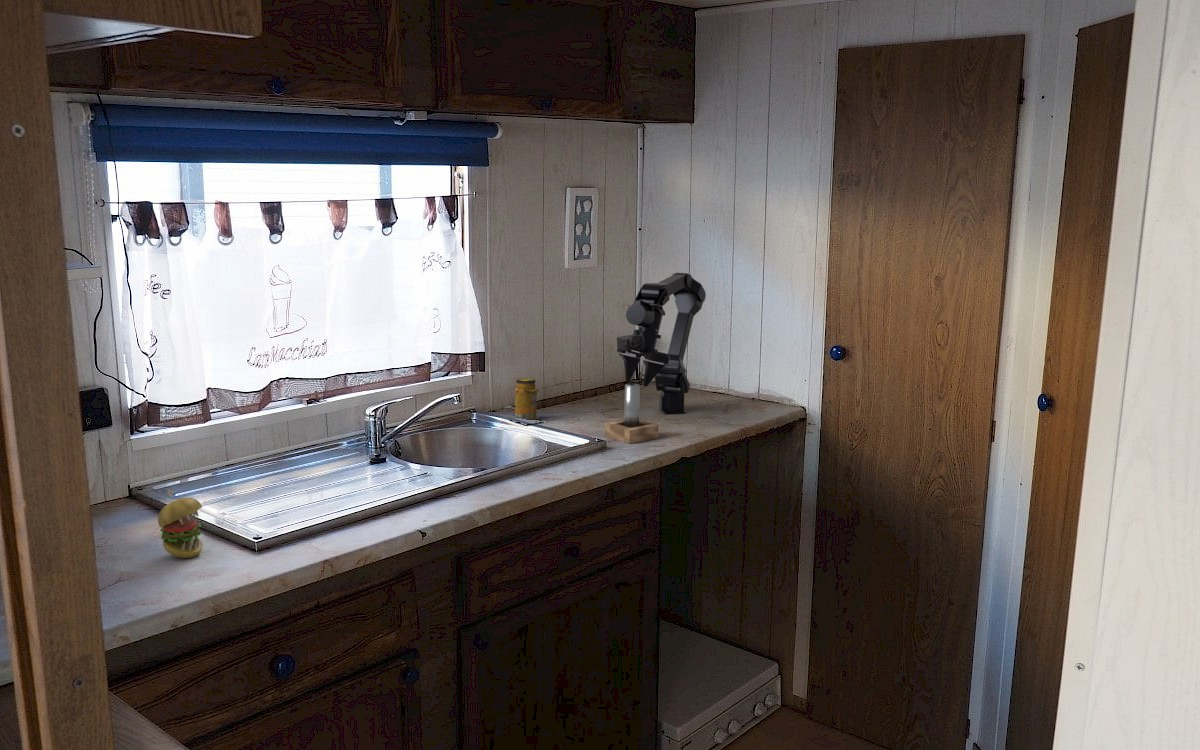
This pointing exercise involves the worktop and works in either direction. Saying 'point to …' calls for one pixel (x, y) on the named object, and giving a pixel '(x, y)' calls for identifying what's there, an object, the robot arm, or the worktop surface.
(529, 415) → the condiment
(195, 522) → the hamburger
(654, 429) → the socket
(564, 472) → the worktop surface
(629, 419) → the peg
